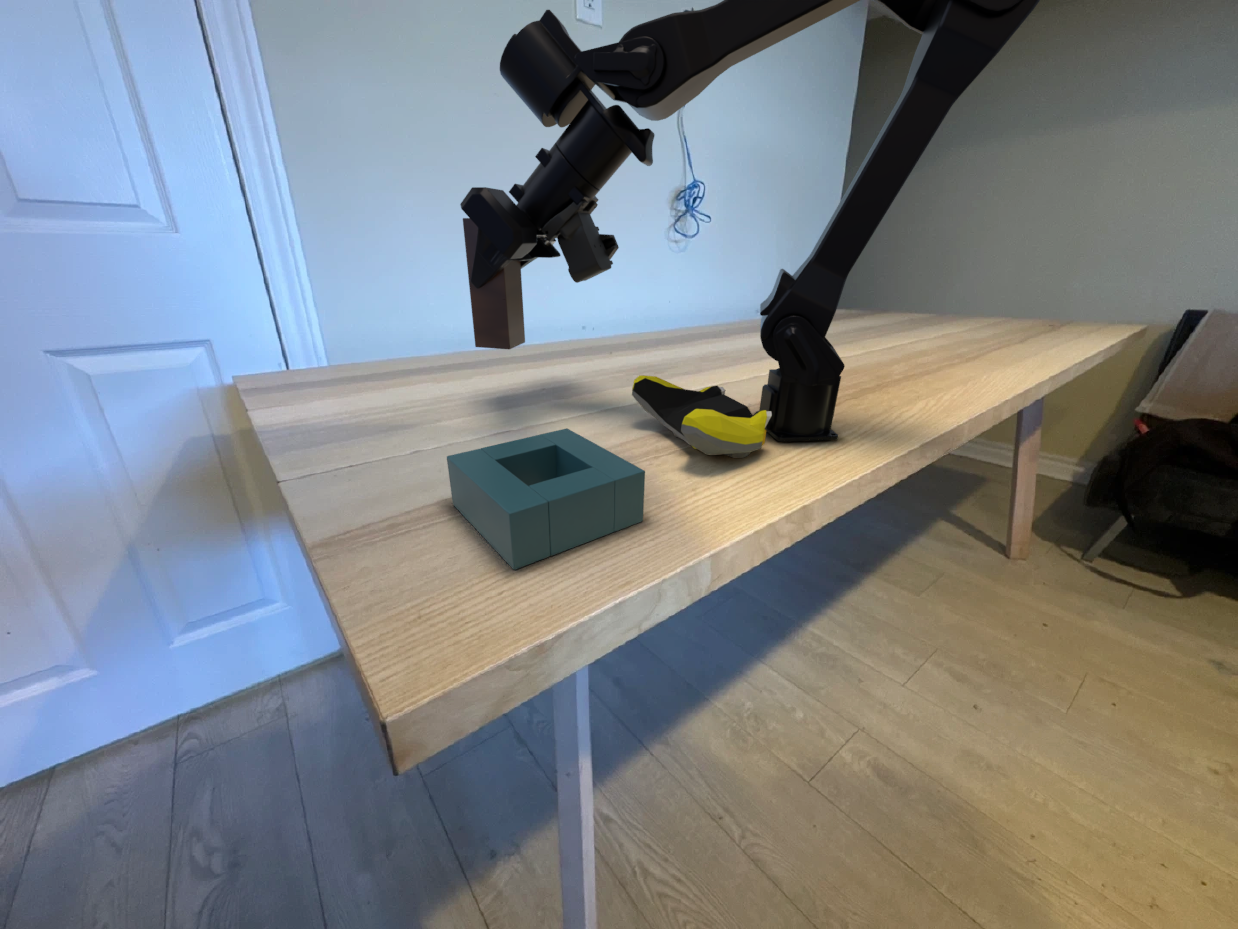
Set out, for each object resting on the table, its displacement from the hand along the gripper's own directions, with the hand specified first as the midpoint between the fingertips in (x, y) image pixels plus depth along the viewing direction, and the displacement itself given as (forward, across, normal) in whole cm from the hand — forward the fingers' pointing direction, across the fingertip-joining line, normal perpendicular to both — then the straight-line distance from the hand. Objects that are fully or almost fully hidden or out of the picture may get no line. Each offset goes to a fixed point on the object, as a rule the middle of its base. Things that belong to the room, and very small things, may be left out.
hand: (484, 283), depth 56 cm
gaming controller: (-8, -6, -27) cm, 29 cm away
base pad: (-2, -23, -21) cm, 31 cm away
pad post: (+4, 0, -6) cm, 7 cm away
